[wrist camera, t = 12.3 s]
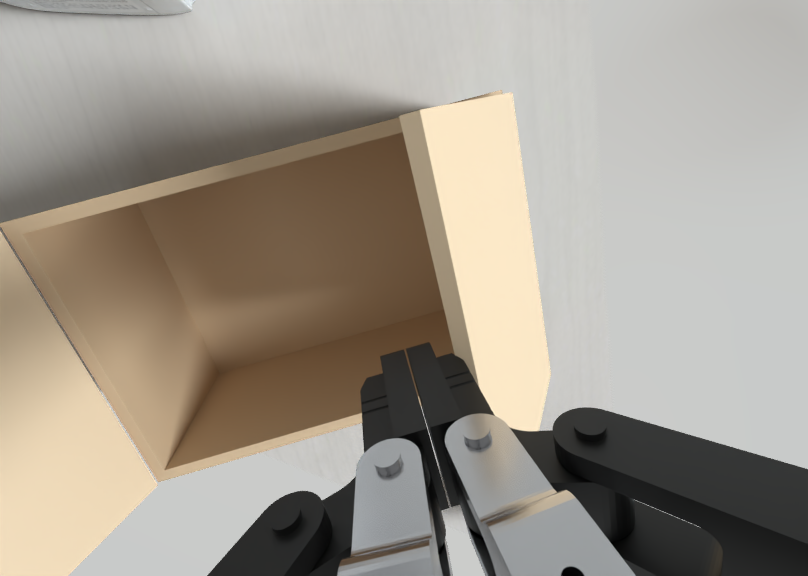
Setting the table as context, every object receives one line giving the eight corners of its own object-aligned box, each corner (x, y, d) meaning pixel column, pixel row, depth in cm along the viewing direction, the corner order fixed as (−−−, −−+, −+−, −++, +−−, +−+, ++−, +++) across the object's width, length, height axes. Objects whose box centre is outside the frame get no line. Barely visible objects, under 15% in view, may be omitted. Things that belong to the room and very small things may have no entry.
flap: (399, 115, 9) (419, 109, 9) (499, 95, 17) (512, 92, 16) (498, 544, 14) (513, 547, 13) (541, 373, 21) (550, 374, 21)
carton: (126, 194, 26) (-2, 223, 16) (447, 109, 26) (502, 89, 17) (216, 378, 30) (158, 482, 21) (484, 302, 31) (542, 370, 22)
